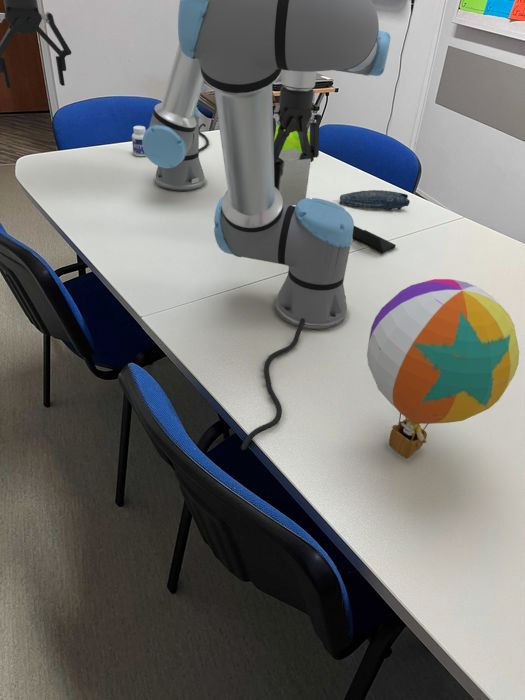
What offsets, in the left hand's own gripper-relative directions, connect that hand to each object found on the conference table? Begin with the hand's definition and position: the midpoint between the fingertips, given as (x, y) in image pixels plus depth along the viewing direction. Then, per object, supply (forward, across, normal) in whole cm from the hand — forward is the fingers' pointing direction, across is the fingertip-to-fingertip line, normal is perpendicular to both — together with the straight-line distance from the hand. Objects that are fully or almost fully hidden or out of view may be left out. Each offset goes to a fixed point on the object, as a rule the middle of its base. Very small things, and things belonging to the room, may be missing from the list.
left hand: (35, 85), depth 138 cm
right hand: (+13, -47, +54) cm, 73 cm away
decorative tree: (+27, -76, -3) cm, 81 cm away
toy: (+27, -28, +125) cm, 131 cm away
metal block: (+16, -47, +54) cm, 74 cm away
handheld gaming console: (+27, -68, +66) cm, 98 cm away
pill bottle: (+27, -33, -19) cm, 47 cm away
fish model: (+27, -85, +45) cm, 100 cm away
